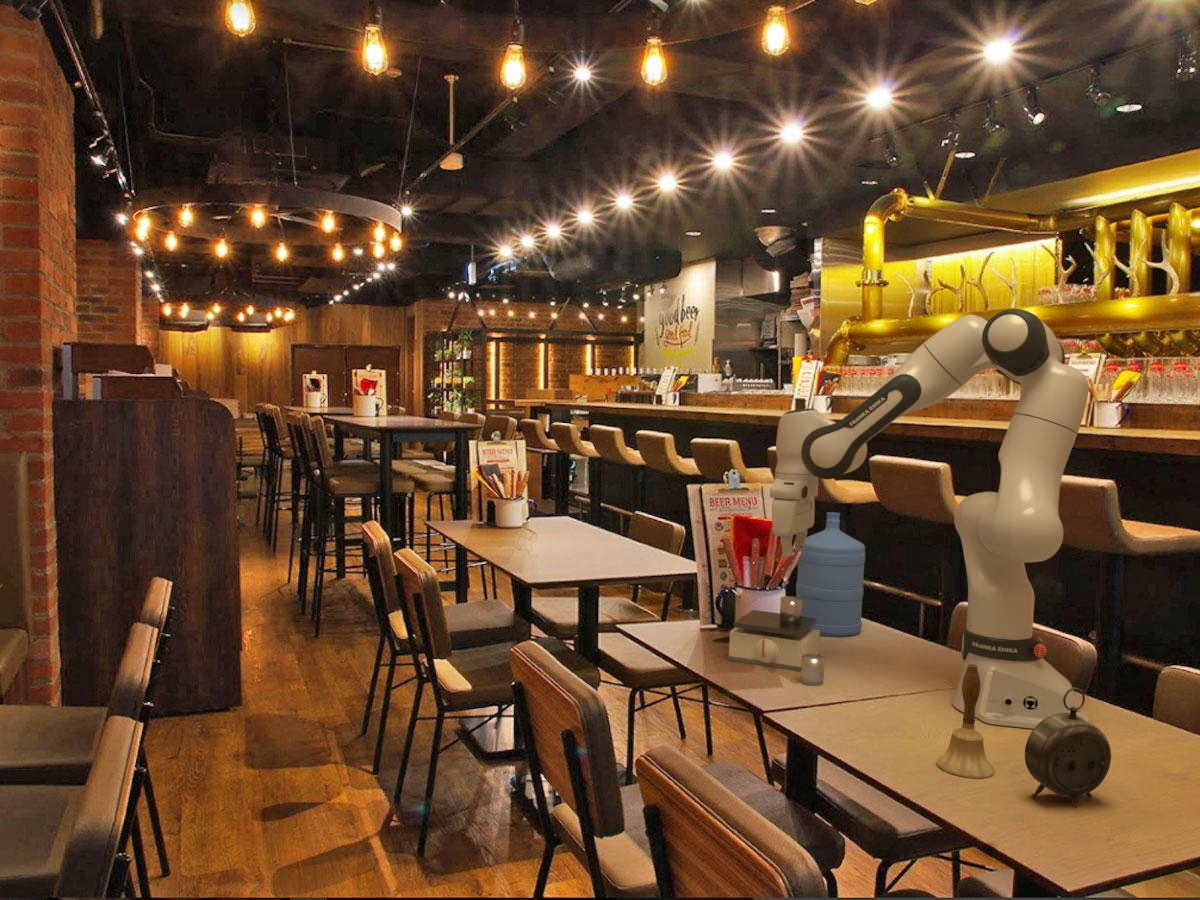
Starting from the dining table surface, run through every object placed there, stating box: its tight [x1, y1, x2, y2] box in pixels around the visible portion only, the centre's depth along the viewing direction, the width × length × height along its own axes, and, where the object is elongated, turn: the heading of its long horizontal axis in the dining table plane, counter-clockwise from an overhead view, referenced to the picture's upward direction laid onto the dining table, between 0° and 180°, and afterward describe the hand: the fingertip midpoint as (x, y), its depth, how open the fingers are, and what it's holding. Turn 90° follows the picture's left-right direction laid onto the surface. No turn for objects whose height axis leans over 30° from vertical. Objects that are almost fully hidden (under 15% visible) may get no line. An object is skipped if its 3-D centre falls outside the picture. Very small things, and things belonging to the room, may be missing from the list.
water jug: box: [795, 511, 866, 638], centre depth 237 cm, size 16×16×28 cm
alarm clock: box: [1024, 687, 1112, 808], centre depth 139 cm, size 11×5×16 cm, turn 99°
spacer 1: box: [779, 595, 802, 625], centre depth 208 cm, size 4×4×5 cm
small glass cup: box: [799, 654, 826, 687], centre depth 193 cm, size 4×4×5 cm
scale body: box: [726, 627, 821, 672], centre depth 209 cm, size 17×13×6 cm
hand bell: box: [936, 664, 995, 779], centre depth 151 cm, size 8×8×16 cm
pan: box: [733, 609, 817, 637], centre depth 209 cm, size 14×14×2 cm
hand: (793, 553), depth 207 cm, fingers open, 8 cm apart
